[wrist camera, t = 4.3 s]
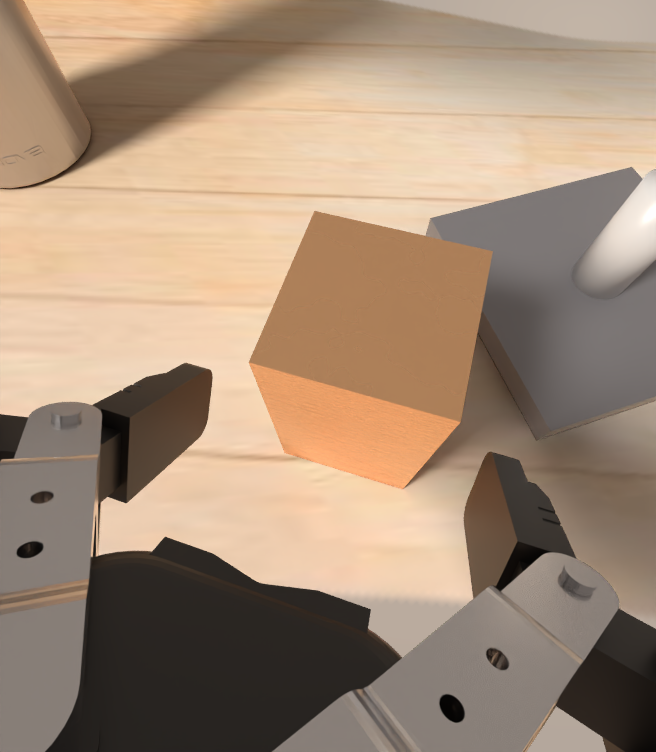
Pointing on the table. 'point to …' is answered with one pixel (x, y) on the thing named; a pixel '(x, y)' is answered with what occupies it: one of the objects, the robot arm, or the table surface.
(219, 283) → the table surface
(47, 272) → the table surface
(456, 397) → the wooden block
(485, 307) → the post base
